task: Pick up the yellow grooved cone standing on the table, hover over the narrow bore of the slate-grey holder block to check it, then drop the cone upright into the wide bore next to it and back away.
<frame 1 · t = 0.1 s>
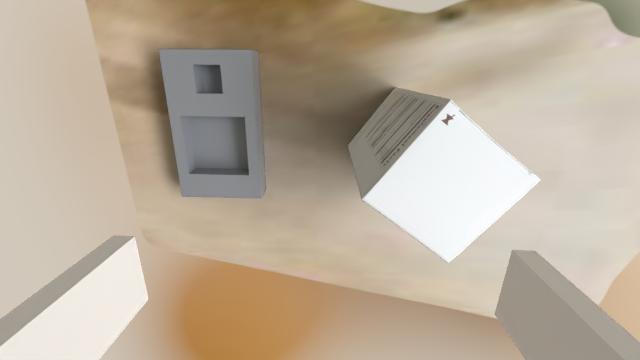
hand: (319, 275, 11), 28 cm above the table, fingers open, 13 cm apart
bit holder block: (222, 125, 37), on the table
supplement box: (398, 139, 37), on the table
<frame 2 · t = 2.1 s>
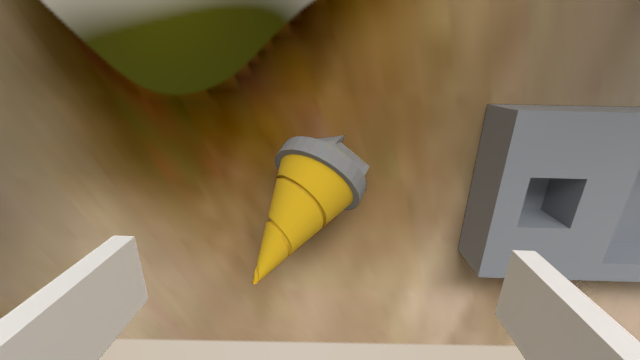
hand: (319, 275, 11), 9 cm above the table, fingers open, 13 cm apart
bit holder block: (604, 186, 19), on the table
yellow grooved cone: (317, 178, 20), on the table
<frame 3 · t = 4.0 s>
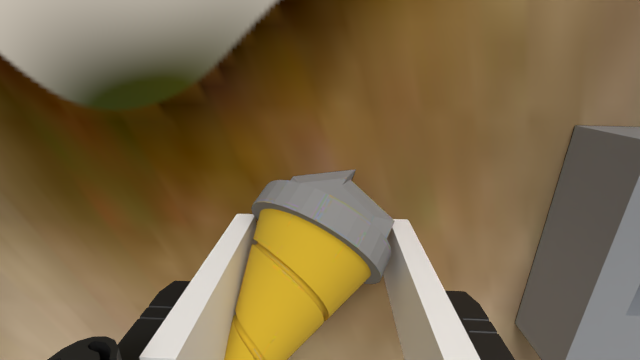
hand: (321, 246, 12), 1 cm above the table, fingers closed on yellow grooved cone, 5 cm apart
yellow grooved cone: (316, 227, 14), on the table, touching gripper
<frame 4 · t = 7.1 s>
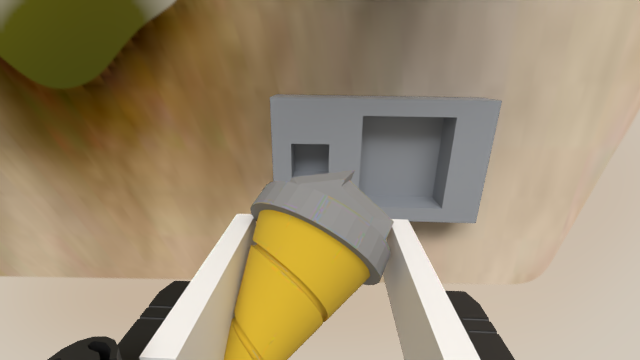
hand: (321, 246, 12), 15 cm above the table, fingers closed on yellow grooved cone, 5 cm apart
bit holder block: (373, 154, 26), on the table
yellow grooved cone: (315, 227, 14), point 13 cm above the table, touching gripper
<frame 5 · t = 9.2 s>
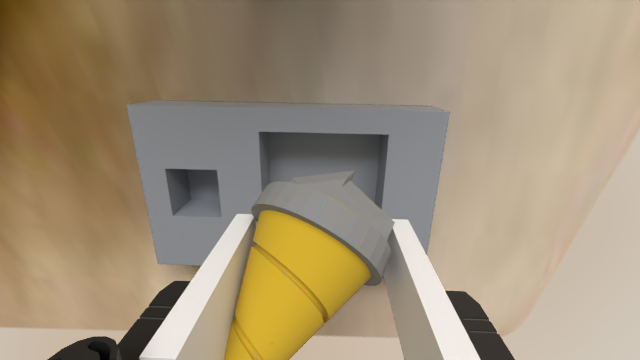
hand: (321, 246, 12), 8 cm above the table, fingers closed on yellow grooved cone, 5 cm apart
bit holder block: (293, 179, 20), on the table
yellow grooved cone: (316, 228, 14), point 7 cm above the table, touching gripper
when the fingers open (5 cm above the table, at t = 10.7 s): yellow grooved cone drops 3 cm, resting on bit holder block.
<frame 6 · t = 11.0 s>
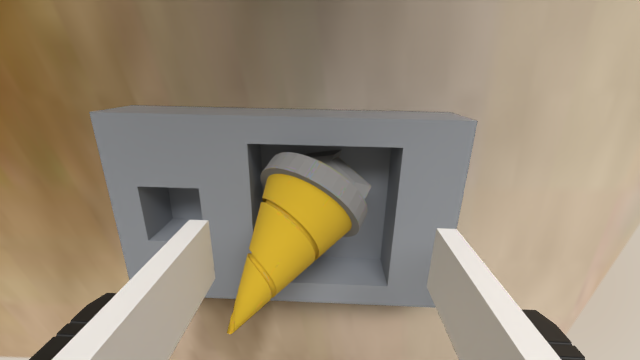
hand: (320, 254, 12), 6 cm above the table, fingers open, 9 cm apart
bit holder block: (290, 195, 17), on the table
yellow grooved cone: (311, 197, 17), resting on bit holder block
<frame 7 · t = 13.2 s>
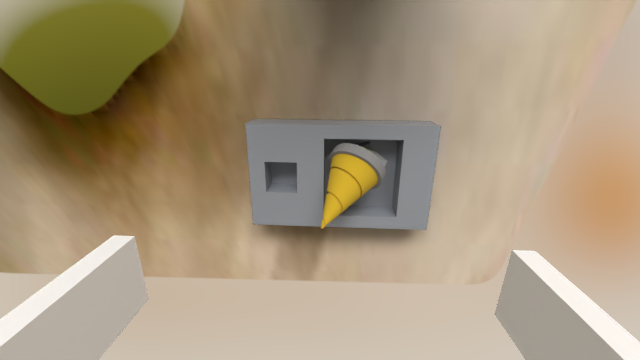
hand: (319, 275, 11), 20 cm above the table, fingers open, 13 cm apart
bit holder block: (339, 169, 30), on the table
yellow grooved cone: (352, 170, 30), resting on bit holder block
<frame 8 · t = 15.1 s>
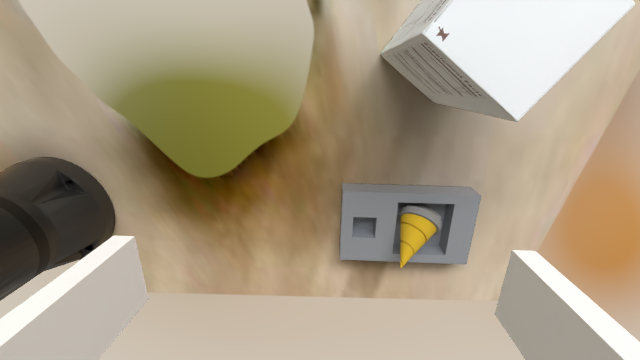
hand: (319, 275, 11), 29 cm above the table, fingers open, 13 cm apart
bit holder block: (401, 218, 41), on the table
supplement box: (435, 46, 34), on the table
yellow grooved cone: (411, 219, 41), resting on bit holder block
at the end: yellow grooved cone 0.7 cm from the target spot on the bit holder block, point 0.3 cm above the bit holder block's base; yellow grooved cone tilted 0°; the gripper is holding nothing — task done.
